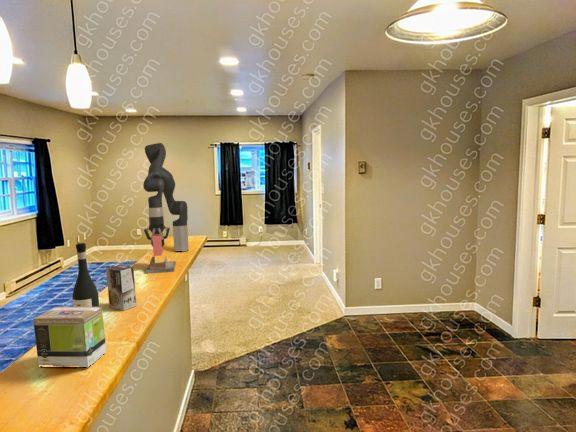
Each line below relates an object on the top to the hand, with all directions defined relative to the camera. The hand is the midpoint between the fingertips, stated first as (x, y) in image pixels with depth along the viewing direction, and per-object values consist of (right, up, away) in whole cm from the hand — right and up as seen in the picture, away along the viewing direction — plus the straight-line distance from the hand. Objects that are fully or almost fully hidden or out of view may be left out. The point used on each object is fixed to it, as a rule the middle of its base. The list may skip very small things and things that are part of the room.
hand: (158, 246), depth 221 cm
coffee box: (+5, -20, -59) cm, 62 cm away
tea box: (+9, -25, -104) cm, 107 cm away
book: (0, -4, 0) cm, 4 cm away
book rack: (0, -12, +1) cm, 12 cm away
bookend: (+5, -10, +2) cm, 12 cm away
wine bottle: (+1, -23, -80) cm, 83 cm away
